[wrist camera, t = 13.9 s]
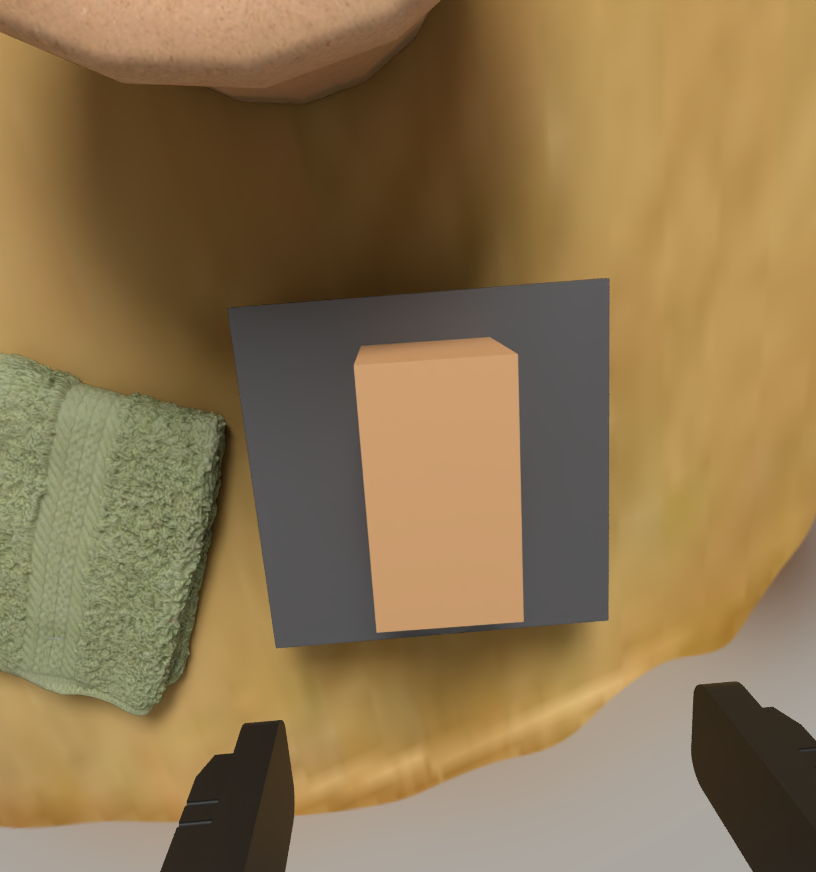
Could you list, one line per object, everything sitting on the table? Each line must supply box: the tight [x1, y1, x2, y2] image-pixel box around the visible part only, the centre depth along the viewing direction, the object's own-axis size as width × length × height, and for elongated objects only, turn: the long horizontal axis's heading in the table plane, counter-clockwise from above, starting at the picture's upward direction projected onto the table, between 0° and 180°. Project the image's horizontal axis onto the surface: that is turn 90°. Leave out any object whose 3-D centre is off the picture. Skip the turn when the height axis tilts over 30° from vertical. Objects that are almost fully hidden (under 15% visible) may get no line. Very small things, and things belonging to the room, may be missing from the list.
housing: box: [354, 337, 524, 634], centre depth 25 cm, size 11×6×6 cm, turn 4°
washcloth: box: [0, 353, 227, 716], centre depth 33 cm, size 13×18×3 cm
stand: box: [227, 278, 609, 648], centre depth 31 cm, size 16×16×5 cm
